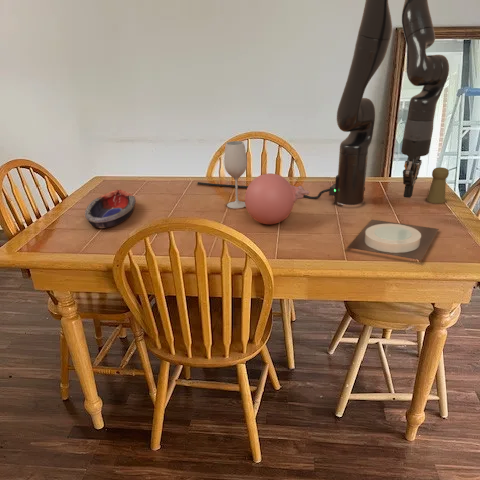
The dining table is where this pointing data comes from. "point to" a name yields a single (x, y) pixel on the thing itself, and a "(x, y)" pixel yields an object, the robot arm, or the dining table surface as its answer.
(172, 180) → the dining table surface
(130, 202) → the dish
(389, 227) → the plate
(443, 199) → the olive pepper mill
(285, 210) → the balloon
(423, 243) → the board
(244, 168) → the wineglass
